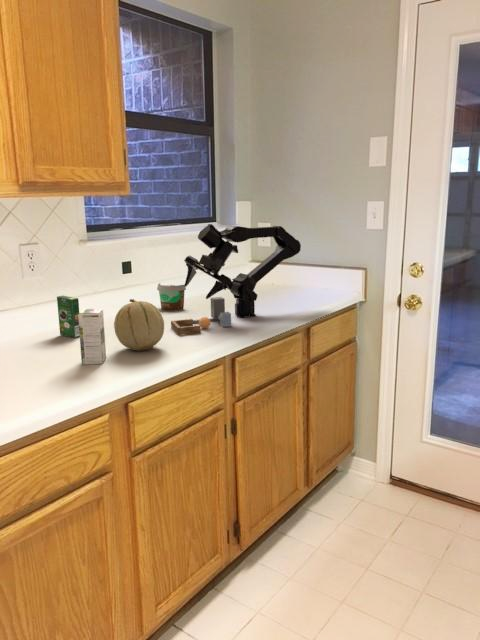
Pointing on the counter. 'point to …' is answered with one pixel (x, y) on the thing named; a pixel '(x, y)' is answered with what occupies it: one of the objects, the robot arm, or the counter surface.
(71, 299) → the coffee box
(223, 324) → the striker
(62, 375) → the counter surface
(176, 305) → the food container
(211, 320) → the rail
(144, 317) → the cantaloupe
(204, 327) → the ball
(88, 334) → the syrup box
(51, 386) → the counter surface
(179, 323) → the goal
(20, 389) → the counter surface
